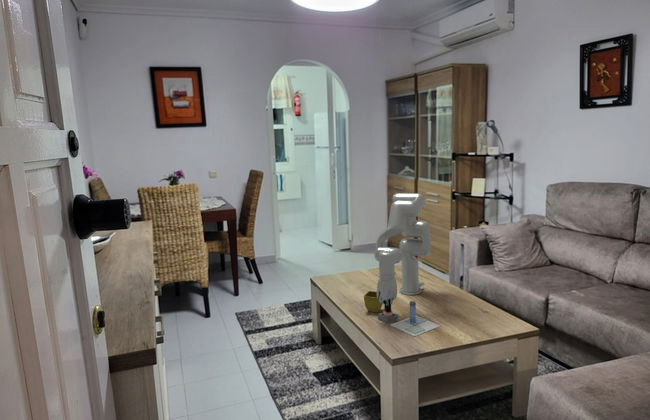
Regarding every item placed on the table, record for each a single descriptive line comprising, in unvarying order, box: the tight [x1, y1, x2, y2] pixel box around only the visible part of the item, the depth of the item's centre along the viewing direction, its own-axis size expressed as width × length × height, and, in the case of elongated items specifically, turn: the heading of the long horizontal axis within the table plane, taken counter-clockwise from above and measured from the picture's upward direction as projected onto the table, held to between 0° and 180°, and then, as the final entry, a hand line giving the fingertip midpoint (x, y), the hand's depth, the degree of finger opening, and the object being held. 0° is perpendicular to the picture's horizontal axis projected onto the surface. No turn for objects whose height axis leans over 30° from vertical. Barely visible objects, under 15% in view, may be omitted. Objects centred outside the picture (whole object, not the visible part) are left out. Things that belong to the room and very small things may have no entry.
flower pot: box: [363, 290, 384, 313], centre depth 230 cm, size 9×9×9 cm
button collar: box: [377, 312, 399, 324], centre depth 218 cm, size 7×7×2 cm
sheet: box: [389, 315, 441, 338], centre depth 209 cm, size 17×16×1 cm
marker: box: [409, 300, 417, 323], centre depth 212 cm, size 3×3×10 cm
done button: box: [383, 310, 394, 317], centre depth 218 cm, size 4×4×3 cm
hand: (387, 311), depth 218 cm, fingers closed
